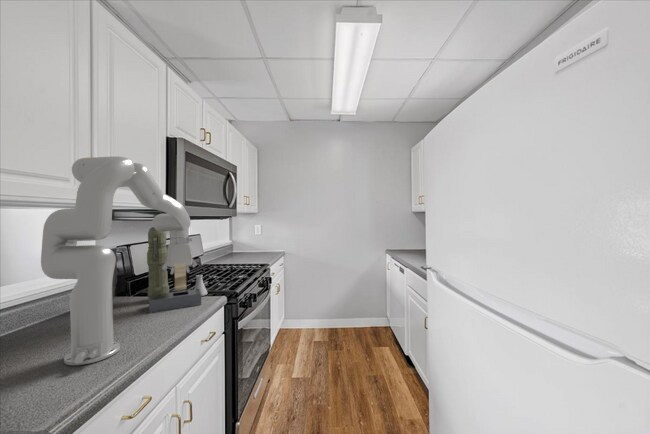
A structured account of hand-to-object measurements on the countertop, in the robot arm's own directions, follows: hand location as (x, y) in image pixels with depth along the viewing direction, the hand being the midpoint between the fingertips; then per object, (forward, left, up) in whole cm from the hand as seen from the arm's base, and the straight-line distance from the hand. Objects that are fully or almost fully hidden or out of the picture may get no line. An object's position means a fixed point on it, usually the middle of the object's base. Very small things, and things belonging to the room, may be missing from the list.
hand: (180, 281), depth 130 cm
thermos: (+15, +9, -11) cm, 21 cm away
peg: (0, 0, -3) cm, 3 cm away
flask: (+13, -9, -11) cm, 19 cm away
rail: (0, +2, -11) cm, 11 cm away
